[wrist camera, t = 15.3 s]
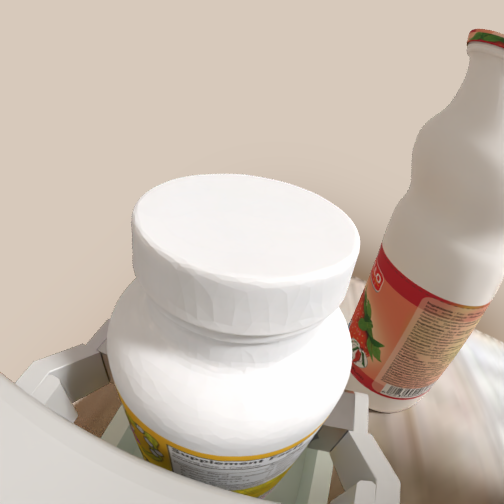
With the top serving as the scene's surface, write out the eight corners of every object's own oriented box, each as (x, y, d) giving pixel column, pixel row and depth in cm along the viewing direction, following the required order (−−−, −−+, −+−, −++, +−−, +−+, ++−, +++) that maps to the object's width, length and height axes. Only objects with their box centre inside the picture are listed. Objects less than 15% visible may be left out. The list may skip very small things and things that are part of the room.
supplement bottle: (156, 395, 16) (139, 152, 9) (276, 405, 16) (351, 178, 10) (138, 507, 10) (10, 290, 3) (285, 517, 11) (467, 331, 4)
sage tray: (317, 433, 20) (341, 398, 18) (283, 582, 10) (308, 585, 8) (163, 388, 22) (158, 347, 20) (91, 518, 12) (62, 501, 9)
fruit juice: (402, 434, 20) (584, 58, 6) (312, 376, 25) (421, -4, 10) (434, 367, 27) (553, 85, 12) (360, 323, 31) (446, 41, 17)
